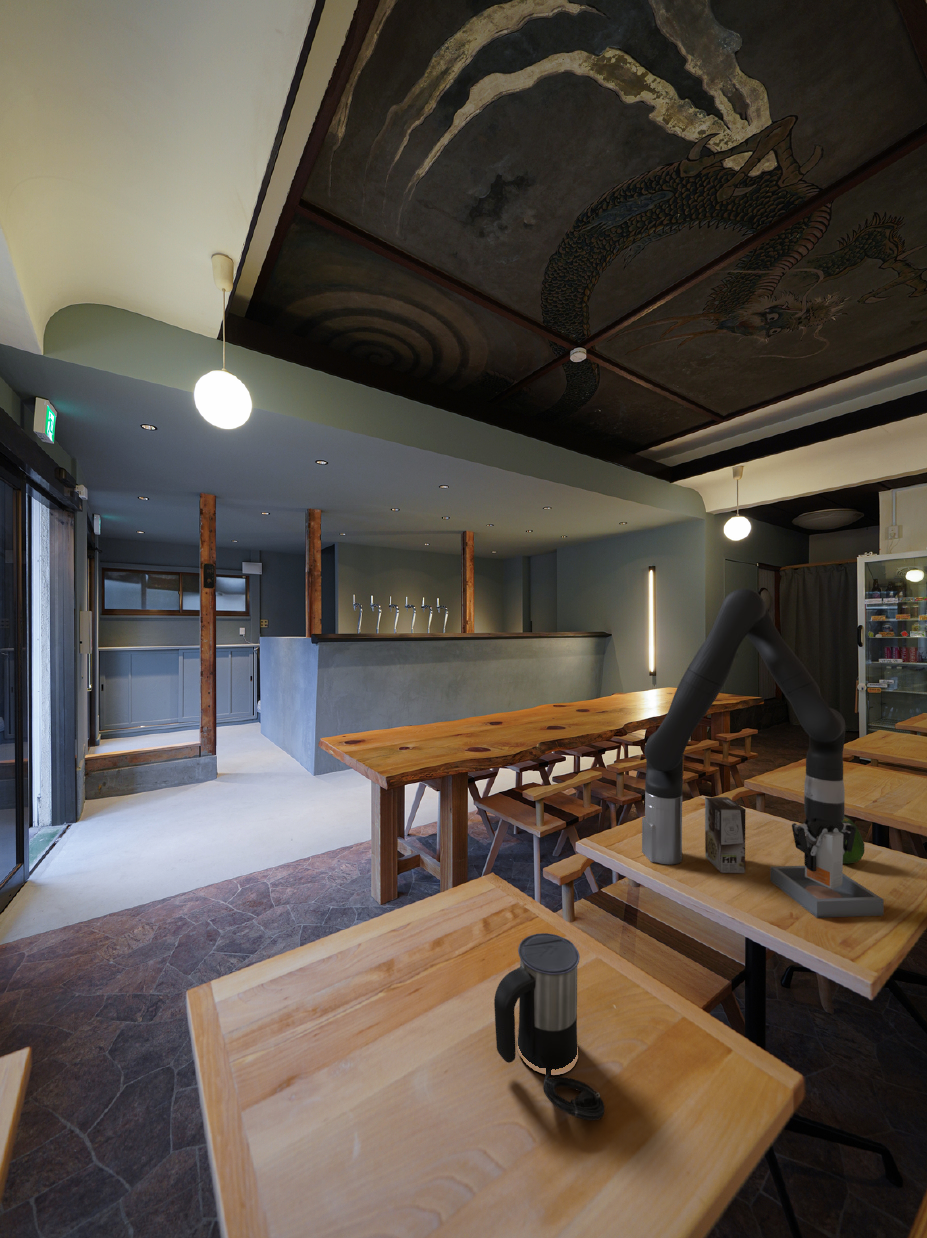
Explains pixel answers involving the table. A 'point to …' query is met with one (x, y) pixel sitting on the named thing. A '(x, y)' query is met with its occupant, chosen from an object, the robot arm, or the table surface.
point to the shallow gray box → (826, 894)
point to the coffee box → (725, 834)
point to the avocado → (854, 846)
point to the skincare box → (828, 861)
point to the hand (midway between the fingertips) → (823, 869)
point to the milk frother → (545, 1017)
